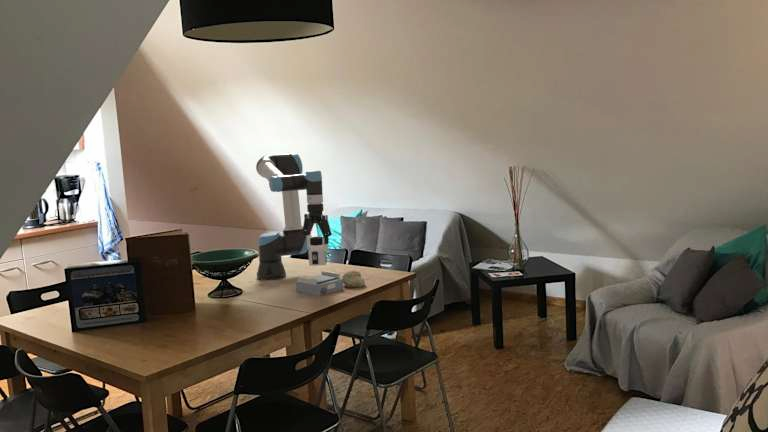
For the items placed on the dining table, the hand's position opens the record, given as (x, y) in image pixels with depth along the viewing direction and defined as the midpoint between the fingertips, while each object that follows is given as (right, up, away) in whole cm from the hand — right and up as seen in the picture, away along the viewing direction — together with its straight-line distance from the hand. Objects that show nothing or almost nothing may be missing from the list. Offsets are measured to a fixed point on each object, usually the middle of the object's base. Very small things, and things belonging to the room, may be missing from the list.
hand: (317, 249), depth 319 cm
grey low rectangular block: (+1, -20, +3) cm, 20 cm away
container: (0, -7, +1) cm, 7 cm away
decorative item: (+16, -18, +9) cm, 26 cm away
